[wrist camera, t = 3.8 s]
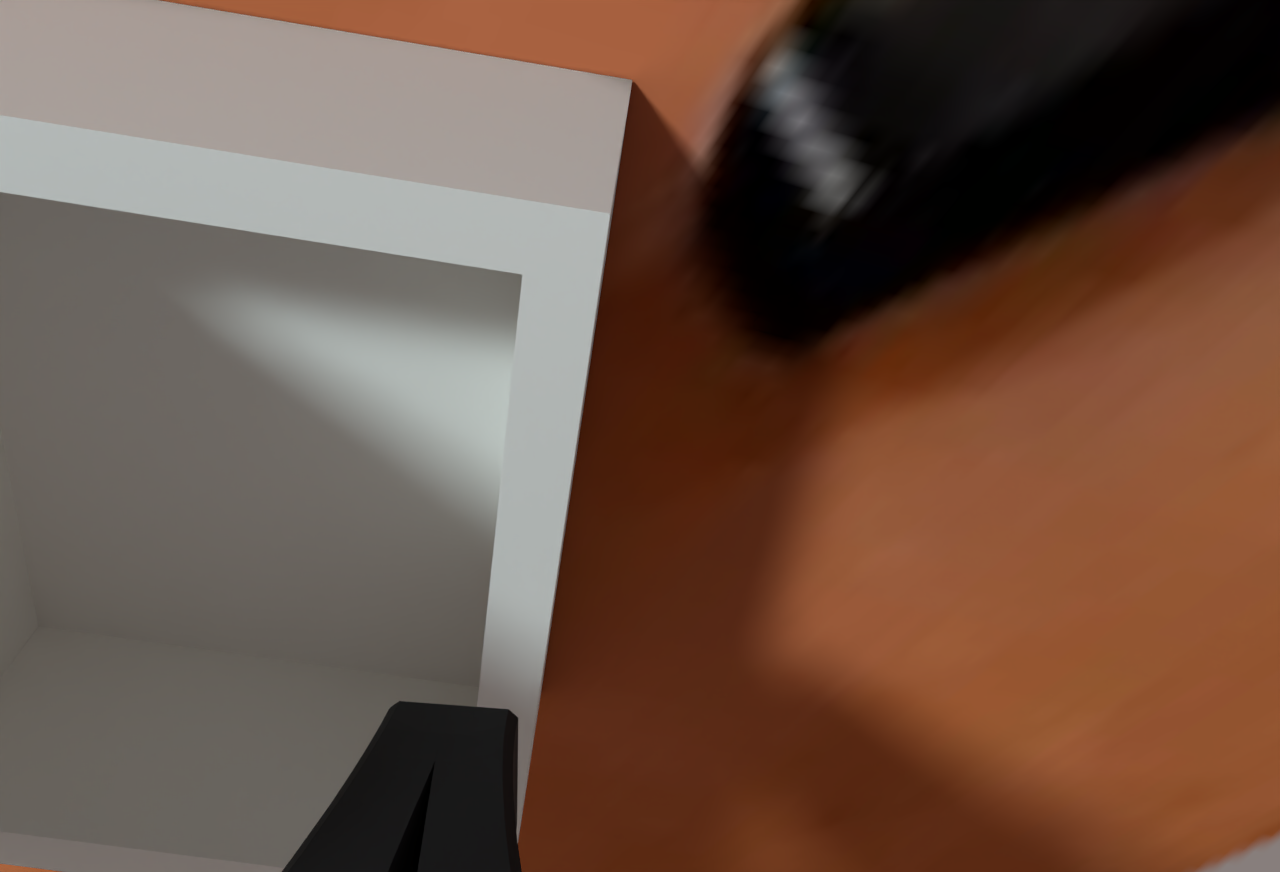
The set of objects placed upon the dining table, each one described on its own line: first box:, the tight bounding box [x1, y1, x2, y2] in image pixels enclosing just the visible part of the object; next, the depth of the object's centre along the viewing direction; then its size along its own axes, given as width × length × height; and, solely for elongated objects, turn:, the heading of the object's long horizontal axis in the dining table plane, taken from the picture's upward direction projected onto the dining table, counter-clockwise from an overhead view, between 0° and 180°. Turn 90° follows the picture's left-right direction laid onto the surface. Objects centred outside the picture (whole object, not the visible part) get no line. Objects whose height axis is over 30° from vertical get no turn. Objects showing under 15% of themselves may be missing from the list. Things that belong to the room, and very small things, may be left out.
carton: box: [0, 0, 632, 872], centre depth 16 cm, size 10×12×5 cm
